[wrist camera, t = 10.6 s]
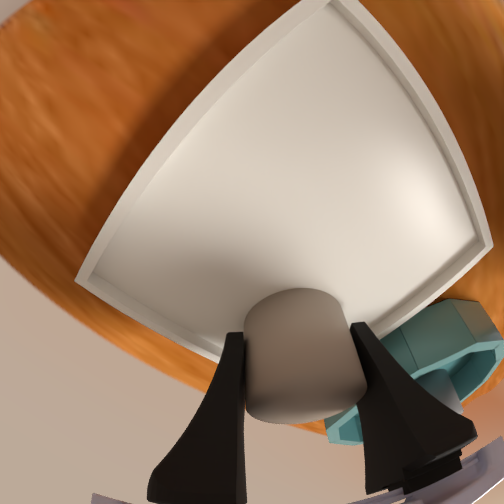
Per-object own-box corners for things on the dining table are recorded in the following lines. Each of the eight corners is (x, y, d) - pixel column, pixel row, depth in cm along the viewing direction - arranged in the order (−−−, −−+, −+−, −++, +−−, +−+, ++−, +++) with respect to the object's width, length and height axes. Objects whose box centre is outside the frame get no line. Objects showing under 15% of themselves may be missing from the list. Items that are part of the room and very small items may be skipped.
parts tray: (322, -12, 5) (334, -22, 4) (480, 233, 11) (493, 246, 10) (85, 263, 11) (74, 281, 10) (285, 375, 16) (287, 392, 15)
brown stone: (299, 269, 11) (321, 356, 7) (360, 318, 13) (385, 389, 9) (222, 328, 13) (219, 408, 9) (289, 363, 14) (298, 429, 11)
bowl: (465, 261, 12) (500, 306, 9) (489, 342, 17) (504, 370, 15) (278, 388, 17) (283, 435, 14) (370, 418, 23) (377, 447, 20)
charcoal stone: (411, 376, 16) (428, 422, 13) (455, 363, 16) (473, 403, 13) (389, 404, 19) (401, 444, 16) (431, 391, 19) (445, 427, 16)
